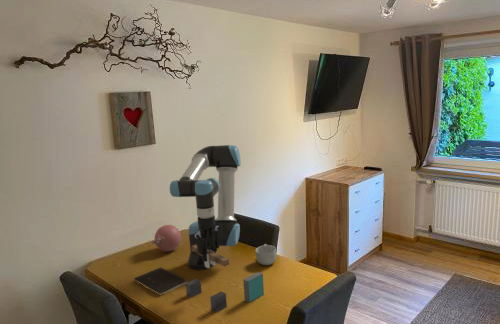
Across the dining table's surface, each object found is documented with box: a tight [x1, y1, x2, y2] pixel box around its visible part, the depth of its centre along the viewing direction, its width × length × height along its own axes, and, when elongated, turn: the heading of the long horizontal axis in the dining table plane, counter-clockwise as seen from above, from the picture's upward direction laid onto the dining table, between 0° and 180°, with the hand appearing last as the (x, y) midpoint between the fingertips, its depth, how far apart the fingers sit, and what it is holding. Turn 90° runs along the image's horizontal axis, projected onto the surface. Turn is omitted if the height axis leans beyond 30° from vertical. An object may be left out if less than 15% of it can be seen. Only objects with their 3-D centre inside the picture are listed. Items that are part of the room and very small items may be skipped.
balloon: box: [151, 224, 182, 252], centre depth 223 cm, size 15×20×15 cm
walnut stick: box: [191, 244, 230, 267], centre depth 170 cm, size 24×2×2 cm, turn 43°
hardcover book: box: [133, 267, 189, 296], centre depth 188 cm, size 16×23×2 cm
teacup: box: [254, 243, 277, 266], centre depth 204 cm, size 14×11×8 cm
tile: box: [242, 271, 265, 303], centre depth 168 cm, size 3×9×10 cm, turn 134°
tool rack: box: [185, 278, 228, 314], centre depth 168 cm, size 21×6×6 cm, turn 44°
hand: (210, 265), depth 171 cm, fingers closed on walnut stick, 2 cm apart
